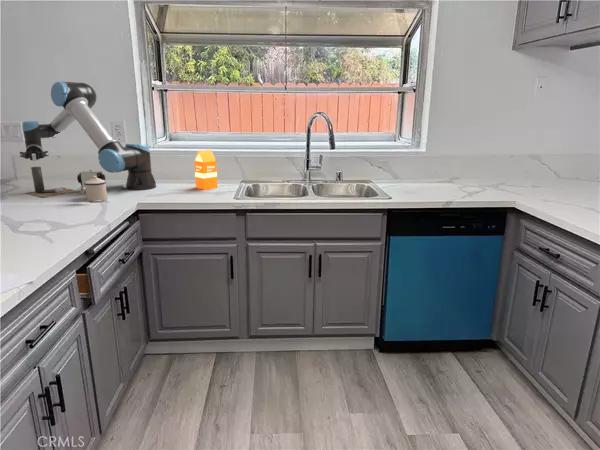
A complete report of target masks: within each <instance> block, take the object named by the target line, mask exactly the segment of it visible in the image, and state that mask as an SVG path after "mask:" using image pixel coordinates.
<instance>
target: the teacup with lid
mask: <svg viewBox="0 0 600 450" xmlns="http://www.w3.org/2000/svg"><path fill="white" fill-rule="evenodd" d="M106 183H107V182H106V179H105V180H102V179H100V178H97V176H92V178H91V179H89V180H88V181H85V182H84V184H85V185H82V186H81V185H80V190H79V191H80V193H81V194H82V195H83V196H86V200H87V203H91V204H92V203H96V204H97V203H103V202H107V201H108V193H107V184H106ZM84 188H85V191H84Z"/></svg>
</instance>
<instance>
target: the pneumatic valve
mask: <svg viewBox="0 0 600 450" xmlns="http://www.w3.org/2000/svg"><path fill="white" fill-rule="evenodd" d="M92 176H97V178H100V179H102V180H105V181H106V175H105V174H103V172H102V171H92V169H89V171H82V172H79V173H78V174H77V177H76V178H77V179H76V180H77V181H78V183H79V184H80V187H81V186H82V185H85V184H84V182H85V181H88V180H89V179H91V178H92Z"/></svg>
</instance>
